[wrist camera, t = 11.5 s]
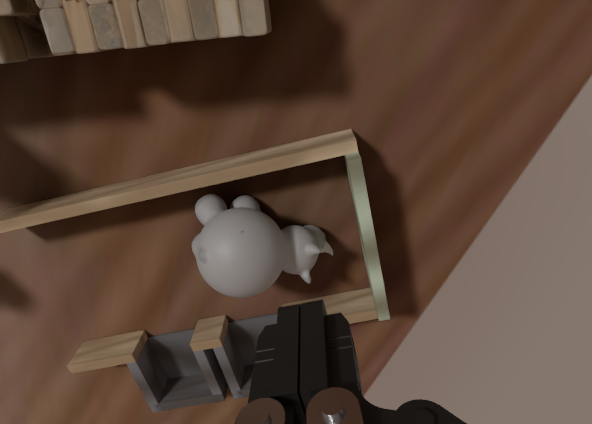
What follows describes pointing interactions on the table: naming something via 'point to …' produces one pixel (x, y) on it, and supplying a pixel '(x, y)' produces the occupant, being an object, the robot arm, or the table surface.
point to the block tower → (121, 24)
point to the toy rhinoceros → (251, 247)
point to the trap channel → (216, 330)
